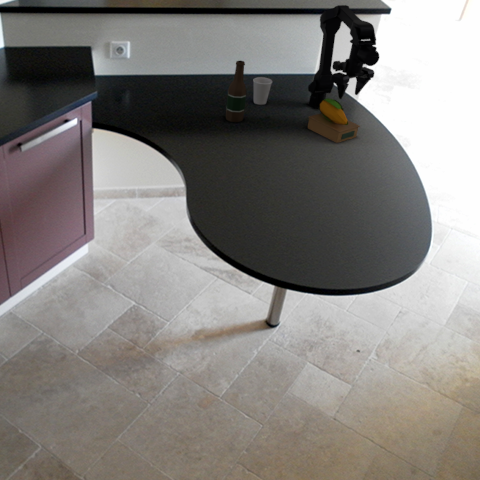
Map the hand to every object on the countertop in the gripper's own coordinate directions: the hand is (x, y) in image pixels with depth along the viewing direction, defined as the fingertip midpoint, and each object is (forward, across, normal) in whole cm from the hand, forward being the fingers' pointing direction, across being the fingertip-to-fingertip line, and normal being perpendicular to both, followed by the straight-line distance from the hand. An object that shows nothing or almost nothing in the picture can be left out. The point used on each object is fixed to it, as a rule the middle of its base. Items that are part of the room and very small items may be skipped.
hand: (348, 96), depth 235 cm
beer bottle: (+13, +34, -28) cm, 46 cm away
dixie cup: (+13, +12, -37) cm, 41 cm away
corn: (+8, +8, +2) cm, 12 cm away
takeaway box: (+13, +8, +2) cm, 15 cm away
